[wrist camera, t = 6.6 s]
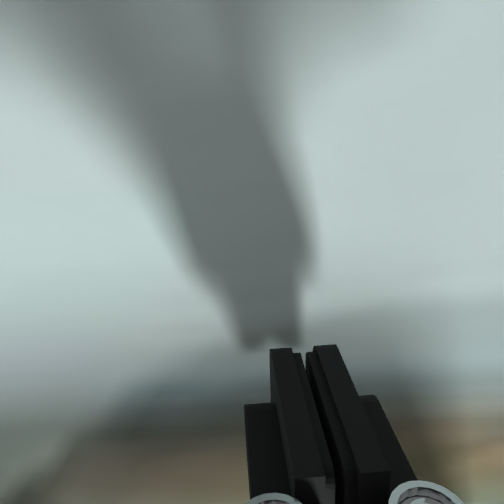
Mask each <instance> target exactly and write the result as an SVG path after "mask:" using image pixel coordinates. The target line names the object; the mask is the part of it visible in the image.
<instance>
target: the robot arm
mask: <svg viewBox="0 0 504 504" xmlns="http://www.w3.org/2000/svg"><path fill="white" fill-rule="evenodd" d="M270 384H271V403H261V404H248V405H244V414H245V431H246V447H247V462H248V476H249V490H250V501H248V502H247V503H246V504H464V503H463V502H462V501H461V500H460V499H459V498H458V497H457V496H456V495H455V494H454V493H452V492H451V491H449V490H448V489H446V488H445V487H443V486H440V485H438V484H435V483H433V482H427V481H421V480H417V479H416V477H415V475H414V473H413V471H412V469H411V466H410V464H409V462H408V460H407V458H406V456H405V454H404V452H403V450H402V448H401V446H400V444H399V442H398V440H397V438H396V436H395V434H394V432H393V430H392V427H391V425H390V423H389V421H388V419H387V417H386V415H385V413H384V411H383V409H382V407H381V405H380V403H379V401H378V399H377V398H376V396H374V395H365V396H358V394H357V391H356V389H355V387H354V384H353V382H352V380H351V377H350V375H349V373H348V370H347V368H346V366H345V364H344V361H343V359H342V357H341V354H340V352H339V350H338V347H337V346H336V345H321V346H314V348H313V352H307V353H306V370H305V367H304V364H303V360H302V357H301V354H300V353H293V351H292V348H279V349H270Z"/></svg>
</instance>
